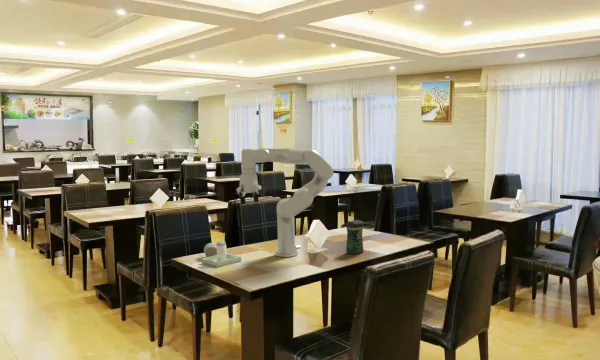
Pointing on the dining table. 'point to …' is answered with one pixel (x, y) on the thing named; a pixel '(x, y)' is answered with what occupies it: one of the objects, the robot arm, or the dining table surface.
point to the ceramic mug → (210, 249)
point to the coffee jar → (354, 237)
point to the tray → (213, 261)
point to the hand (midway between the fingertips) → (249, 202)
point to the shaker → (221, 251)
